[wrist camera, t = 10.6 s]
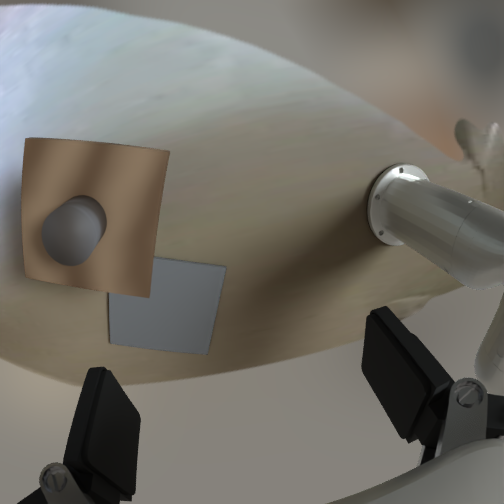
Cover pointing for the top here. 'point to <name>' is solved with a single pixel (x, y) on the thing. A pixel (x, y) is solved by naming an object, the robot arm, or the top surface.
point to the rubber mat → (170, 308)
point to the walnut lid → (91, 213)
